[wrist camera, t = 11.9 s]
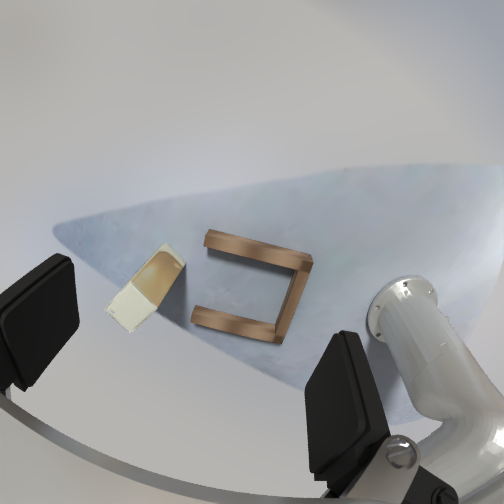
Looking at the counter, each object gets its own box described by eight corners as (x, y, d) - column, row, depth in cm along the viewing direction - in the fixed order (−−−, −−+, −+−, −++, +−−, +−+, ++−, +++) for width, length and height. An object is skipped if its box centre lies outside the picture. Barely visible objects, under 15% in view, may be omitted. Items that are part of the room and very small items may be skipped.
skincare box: (161, 286, 42) (128, 335, 30) (141, 266, 41) (102, 310, 29) (188, 261, 40) (158, 309, 29) (167, 239, 39) (128, 281, 27)
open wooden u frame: (311, 255, 38) (313, 262, 36) (281, 334, 44) (281, 344, 41) (209, 229, 38) (205, 235, 35) (194, 312, 43) (190, 322, 41)
